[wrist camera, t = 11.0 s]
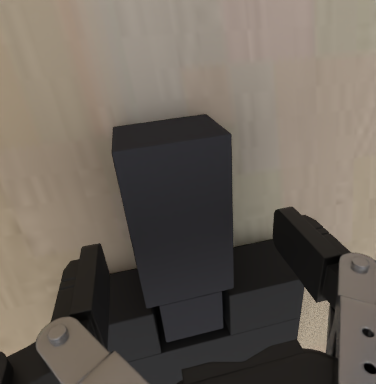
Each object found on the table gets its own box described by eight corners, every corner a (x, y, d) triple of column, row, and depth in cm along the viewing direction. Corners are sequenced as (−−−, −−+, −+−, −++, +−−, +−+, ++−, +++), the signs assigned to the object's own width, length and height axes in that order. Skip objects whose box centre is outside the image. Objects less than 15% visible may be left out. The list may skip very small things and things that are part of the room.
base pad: (274, 238, 21) (306, 277, 17) (267, 344, 26) (290, 389, 23) (73, 281, 19) (62, 335, 15) (112, 386, 24) (111, 443, 21)
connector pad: (206, 113, 16) (231, 133, 12) (215, 280, 21) (234, 326, 18) (112, 126, 15) (111, 151, 11) (148, 295, 21) (154, 346, 17)
